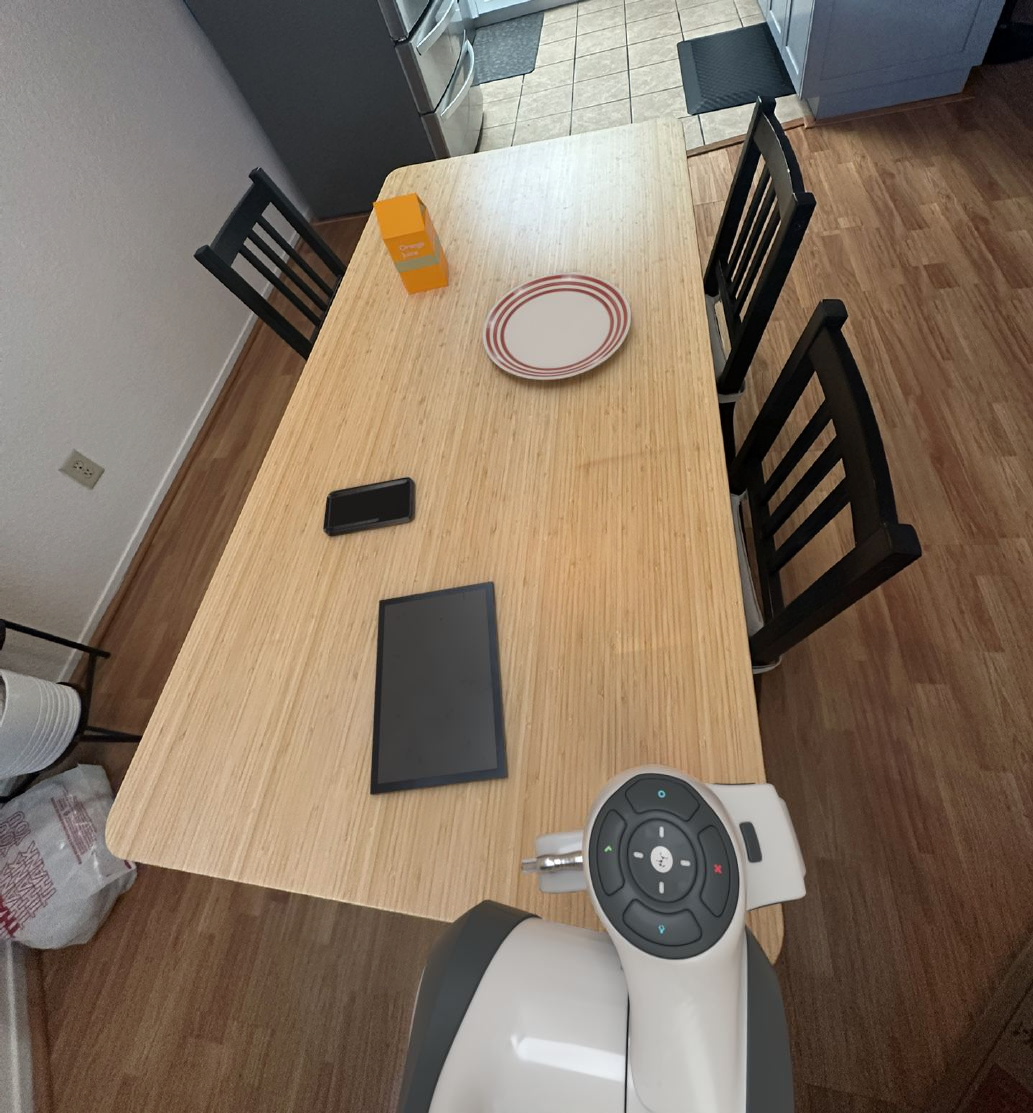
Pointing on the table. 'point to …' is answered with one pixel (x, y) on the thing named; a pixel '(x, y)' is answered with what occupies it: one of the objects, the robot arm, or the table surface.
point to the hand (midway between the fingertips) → (662, 847)
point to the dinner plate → (556, 326)
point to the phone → (370, 506)
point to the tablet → (438, 691)
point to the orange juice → (412, 242)
